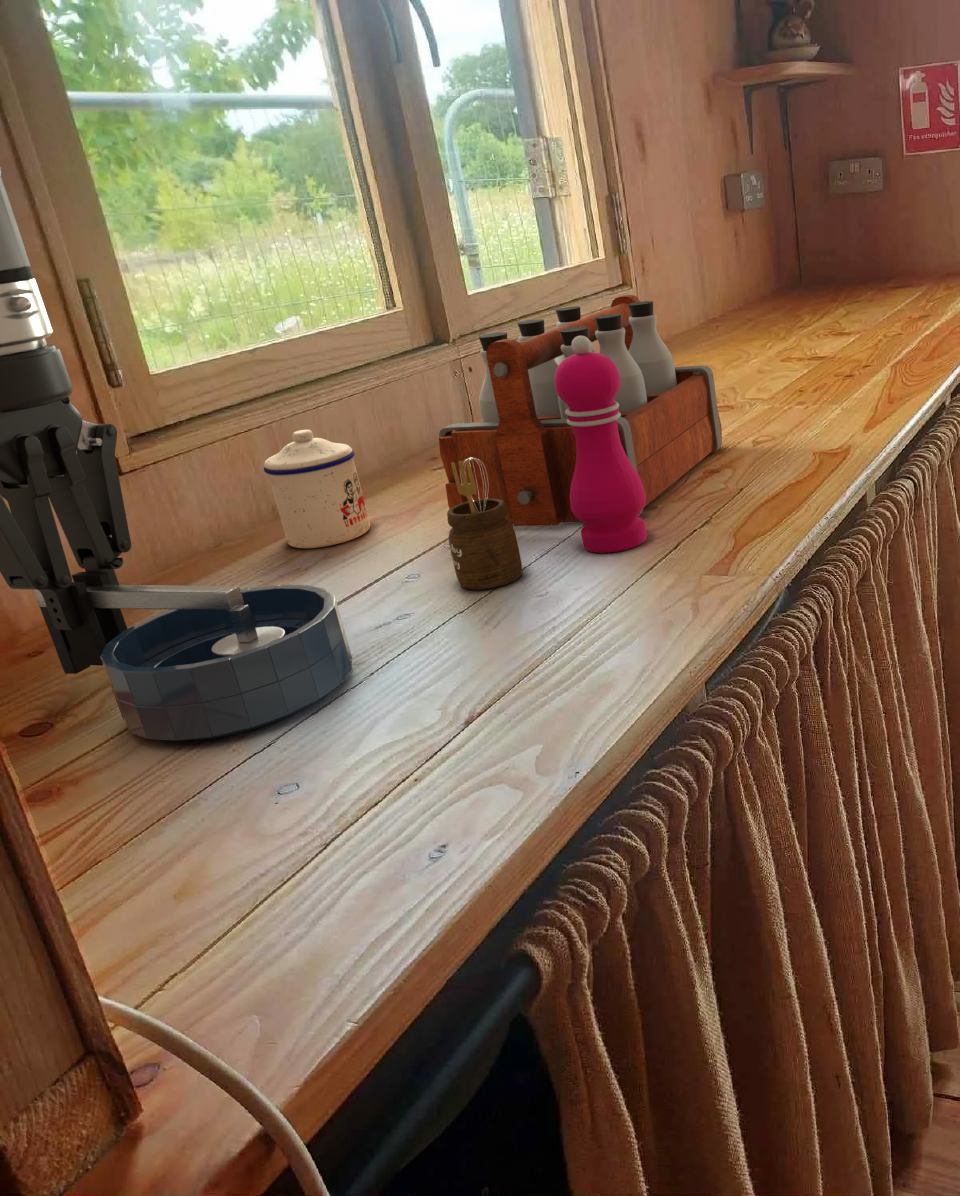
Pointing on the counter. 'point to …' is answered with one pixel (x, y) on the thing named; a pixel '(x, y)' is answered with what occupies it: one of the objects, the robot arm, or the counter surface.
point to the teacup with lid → (317, 492)
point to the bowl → (227, 666)
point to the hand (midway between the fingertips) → (106, 656)
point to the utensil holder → (481, 538)
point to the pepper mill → (599, 453)
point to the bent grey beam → (170, 599)
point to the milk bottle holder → (539, 423)
